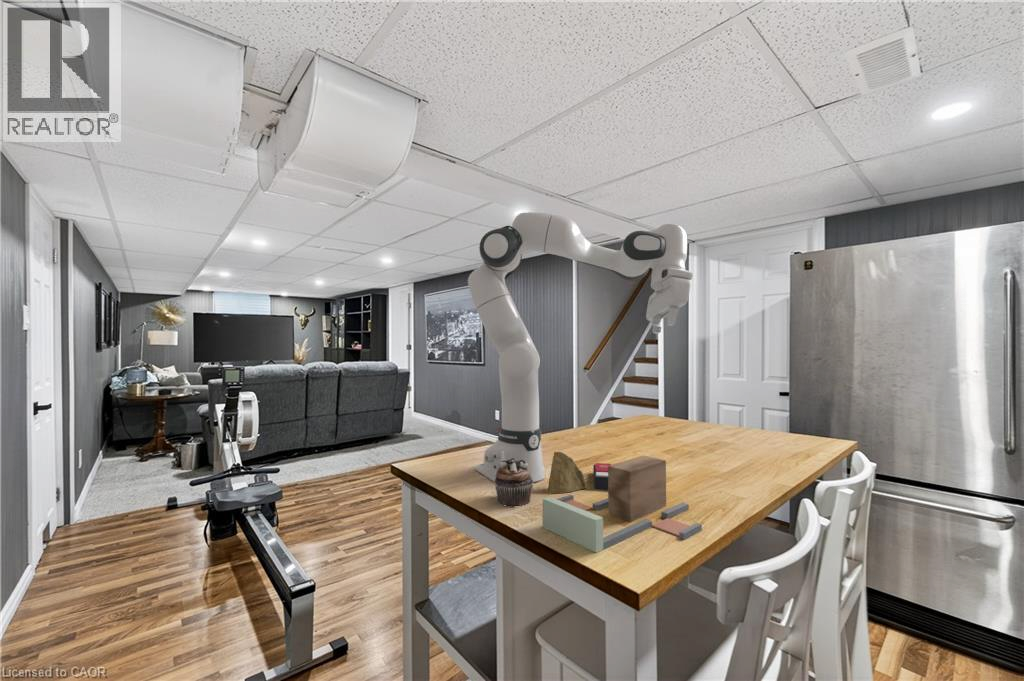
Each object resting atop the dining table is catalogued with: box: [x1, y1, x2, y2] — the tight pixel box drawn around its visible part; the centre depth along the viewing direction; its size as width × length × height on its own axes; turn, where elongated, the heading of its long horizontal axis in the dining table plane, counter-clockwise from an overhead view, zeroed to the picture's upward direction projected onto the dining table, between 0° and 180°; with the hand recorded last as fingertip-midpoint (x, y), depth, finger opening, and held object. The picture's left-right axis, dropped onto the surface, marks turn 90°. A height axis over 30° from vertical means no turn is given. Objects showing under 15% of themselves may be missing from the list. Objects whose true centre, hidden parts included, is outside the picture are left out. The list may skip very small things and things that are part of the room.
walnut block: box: [607, 455, 667, 523], centre depth 99 cm, size 6×14×11 cm, turn 129°
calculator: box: [592, 462, 612, 491], centre depth 120 cm, size 11×4×15 cm
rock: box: [547, 451, 588, 495], centre depth 113 cm, size 11×9×10 cm
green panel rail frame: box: [541, 494, 703, 554], centre depth 95 cm, size 30×33×6 cm
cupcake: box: [494, 458, 534, 508], centre depth 106 cm, size 10×10×10 cm
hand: (663, 329), depth 116 cm, fingers open, 8 cm apart
